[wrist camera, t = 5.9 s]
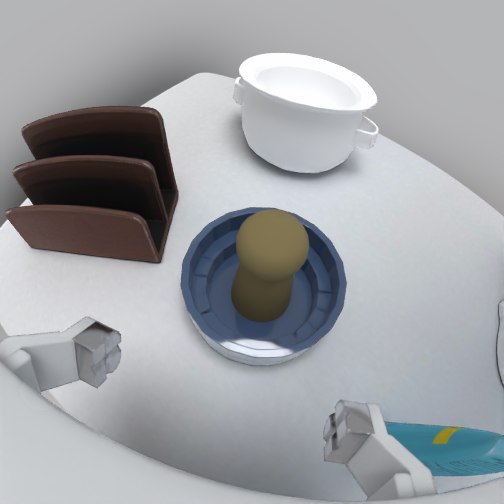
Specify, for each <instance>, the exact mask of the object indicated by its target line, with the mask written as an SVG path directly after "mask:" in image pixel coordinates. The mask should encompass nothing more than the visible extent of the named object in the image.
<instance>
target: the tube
mask: <svg viewBox="0 0 504 504" xmlns="http://www.w3.org/2000/svg"><path fill="white" fill-rule="evenodd" d="M385 426H386V429H387V433H388V435H392V436H393V437H394V438H395V439H396V440H397V441H398V442H400V443H401V444H402V445H403V446H404V447H405V448H406V449H407V450H408V451H409V452H410V453H412V454H413V455H414V456H415V457H416V458H417V459H418V460H419V461H420V462H422V463H423V464H424V465H425V466H426V467H427V468H428V469H429V470H430V471H431V474H432V476H470V475H482V474H490V473H497V472H503V471H504V435H501V434H498V433H494V432H489V431H483V430H476V429H470V428H463V427H451V426H436V425H422V424H407V423H392V422H385Z"/></svg>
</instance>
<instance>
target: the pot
mask: <svg viewBox="0 0 504 504" xmlns="http://www.w3.org/2000/svg"><path fill="white" fill-rule="evenodd" d="M239 73H240V77H238V78H237V79H236V82H235V89H234V95H233V99H234V100H235V102H236V103H238V104H240V105H242V129H243V131H244V134H245V137H246V139H247V142H248V144H249V146H250V147H251V148H252V150H253V151H254V152H255V153H256V154H257V155H259V156H260V157H262V158H263V159H265V160H266V161H268V162H269V163H271V164H273V165H275V166H277V167H279V168H281V169H283V170H288V171H294V172H299V173H318V172H322V171H326V170H329V169H331V168H333V167H335V166H337V165H339V164H341V163H342V162H344V161H345V160H346V159H347V157H348V156H349V155H350V153H351V152H352V151H353V149H354V148H355V147H359V148H366V149H369V148H371V147H373V146H374V143H375V141H376V138H377V135H378V127H377V125H375V123H374V122H373V121H371V120H369V119H368V118H367V117H365V116H364V115H363V112H364V111H368V110H370V109H371V108H373V107H374V106H375V105H376V103H377V97H376V95H375V92H374V91H373V90H372V88H371V87H370V85H369V84H368V83H367V82H366V81H364V80H363V79H362V78H361V77H360V76H358V75H357V74H355V73H353V72H351V71H349V70H348V69H346V68H344V67H342V66H339V65H336V64H334V63H331V62H328V61H326V60H323V59H319V58H314V57H310V56H305V55H298V54H288V53H269V54H262V55H257V56H254V57H250V58H249V59H247V60H245V61H244V62H243V63H242V64H241V67H240V68H239Z"/></svg>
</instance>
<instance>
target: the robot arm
mask: <svg viewBox="0 0 504 504" xmlns="http://www.w3.org/2000/svg"><path fill="white" fill-rule="evenodd" d="M499 317H500V327H499V333H498V341H497V356H498V366H499V371H500V376H501V379H502V382H503V385H504V300H503V301H501V302H500V303H499ZM120 342H121V334H120V333H119V332H118V331H116V330H114V329H112V328H110V327H108V326H106V325H104V324H102V323H100V322H98V321H96V320H94V319H92V318H90V317H84V318H83V319H81V320H80V321H79V322H77V323H76V324H74V325H73V326H71V327H70V328H68V329H67V330H65V331H64V332H62V333H60V332H59V331H58V332H49V333H39V334H29V335H17V336H8V337H6V338H5V339H3V340H2V341H0V504H504V477H501V478H497V479H494V480H491V481H488V482H485V483H481V484H478V485H474V486H471V487H467V488H463V489H459V490H454V491H450V492H445V493H440V494H437V491H436V487H435V484H434V481H433V477H432V474H431V471H430V470H429V469H428V468H427V467H426V466H425V465H424V464H423V463H422V462H420V461H419V460H418V459H417V458H416V457H415V456H414V455H413V454H412V453H410V452H409V451H408V450H407V449H406V448H405V447H404V446H403V445H402V444H401V443H400V442H398V441H397V440H396V439H395V438H394V437H393V436H392V435H388V433H387V429H386V426H385V422H384V419H383V416H382V412H381V409H380V406H379V405H378V404H370V403H359V402H352V401H346V400H340V401H338V402H337V404H336V406H335V413H333V414H331V415H330V416H329V417H328V419H327V421H326V424H325V427H324V432H323V439H324V440H325V441H326V442H327V444H326V445H325V447H324V461H326V462H334V463H342V464H346V466H347V468H348V469H349V471H350V472H351V473H352V475H353V476H354V478H355V479H356V481H357V482H358V484H359V485H360V487H361V488H362V489H363V491H364V492H365V494H366V495H367V497H368V499H367V500H366V501H333V500H317V499H306V498H297V497H289V496H282V495H275V494H269V493H264V492H258V491H253V490H249V489H244V488H240V487H236V486H232V485H228V484H224V483H220V482H216V481H213V480H210V479H206V478H203V477H200V476H197V475H194V474H191V473H188V472H185V471H182V470H179V469H177V468H174V467H171V466H169V465H166V464H164V463H161V462H159V461H156V460H154V459H151V458H149V457H147V456H145V455H142V454H140V453H138V452H136V451H134V450H132V449H129V448H127V447H125V446H123V445H121V444H119V443H117V442H115V441H114V440H112V439H110V438H108V437H106V436H104V435H102V434H101V433H99V432H97V431H95V430H94V429H92V428H90V427H88V426H87V425H85V424H83V423H82V422H80V421H79V420H77V419H75V418H74V417H72V416H71V415H69V414H68V413H66V412H65V411H63V410H62V409H60V408H59V407H57V406H56V405H54V404H53V403H52V402H50V401H49V400H48V399H46V398H45V397H43V396H42V395H41V392H42V391H45V390H49V389H52V388H55V387H58V386H62V385H65V384H68V383H71V382H74V381H77V380H79V379H81V380H82V381H84V382H86V383H88V384H90V385H92V386H93V387H95V388H98V387H99V386H100V385H101V384H102V383H103V382H104V381H105V380H106V379H107V377H106V374H108V373H112V372H114V370H115V369H116V368H117V366H118V364H119V362H120V358H121V350H120V348H119V346H118V344H119V343H120Z"/></svg>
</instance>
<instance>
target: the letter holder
mask: <svg viewBox="0 0 504 504" xmlns="http://www.w3.org/2000/svg"><path fill="white" fill-rule="evenodd" d="M22 136H23V138H24V139H25V142H26V143H27V145H28V147H29V149H30V150H31V152H32V154H33V156H34V157H35V159H36V160H35V161H32V162H28V163H25V164H22V165H19V166H16V167H15V168H14V170H13V175H14V177H15V179H16V181H17V182H18V184H19V185H20V186H21V188H22V189H23V191H24V192H25V193H26V195H27V196H28V198H29V199H30V201H31V202H32V204H33V205H31V206H23V207H14V208H11V209H8V210H7V211H6V212H5V214H6V217H7V218H8V220H9V221H10V223H11V224H12V225H13V226H14V228H15V229H16V230H17V231H18V232H19V234H20V235H21V236H22V238H23V239H24V240H25V241H26V242H27V243H28V245H29V246H30V247H32V248H38V249H39V248H40V249H47V250H55V251H63V252H71V253H78V254H86V255H94V256H102V257H110V258H121V259H131V260H141V261H149V262H161V257H162V254H163V250H164V246H165V242H166V238H167V234H168V231H169V227H170V223H171V220H172V216H173V213H174V210H175V206H176V202H177V199H178V190H177V185H176V181H175V177H174V172H173V167H172V163H171V158H170V153H169V149H168V143H167V138H166V132H165V127H164V122H163V118H162V116H161V114H160V113H159V112H158V111H157V110H156V109H153V108H149V107H135V106H134V107H133V106H102V107H92V108H84V109H78V110H72V111H68V112H64V113H59V114H55V115H52V116H48V117H45V118H43V119H39V120H37V121H34V122H32V123H30V124H27V125H26V126H24V127H23V128H22Z"/></svg>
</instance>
